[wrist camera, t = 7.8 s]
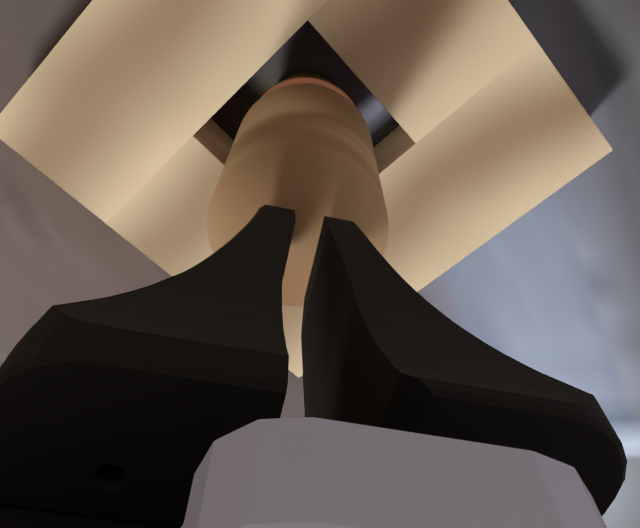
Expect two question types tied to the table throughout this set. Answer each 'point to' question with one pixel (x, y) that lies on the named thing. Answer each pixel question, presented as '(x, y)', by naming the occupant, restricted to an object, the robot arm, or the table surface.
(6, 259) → the table surface
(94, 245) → the table surface
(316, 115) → the oak peg
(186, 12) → the birch board
